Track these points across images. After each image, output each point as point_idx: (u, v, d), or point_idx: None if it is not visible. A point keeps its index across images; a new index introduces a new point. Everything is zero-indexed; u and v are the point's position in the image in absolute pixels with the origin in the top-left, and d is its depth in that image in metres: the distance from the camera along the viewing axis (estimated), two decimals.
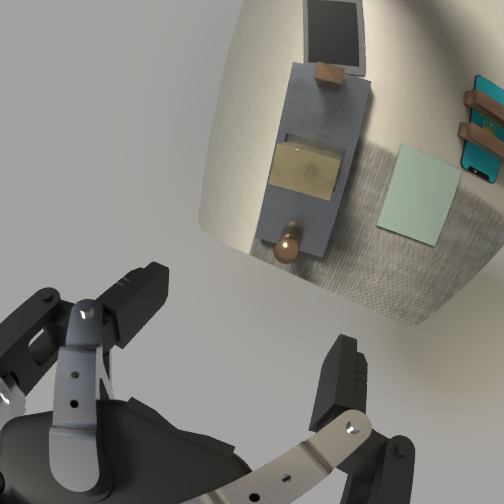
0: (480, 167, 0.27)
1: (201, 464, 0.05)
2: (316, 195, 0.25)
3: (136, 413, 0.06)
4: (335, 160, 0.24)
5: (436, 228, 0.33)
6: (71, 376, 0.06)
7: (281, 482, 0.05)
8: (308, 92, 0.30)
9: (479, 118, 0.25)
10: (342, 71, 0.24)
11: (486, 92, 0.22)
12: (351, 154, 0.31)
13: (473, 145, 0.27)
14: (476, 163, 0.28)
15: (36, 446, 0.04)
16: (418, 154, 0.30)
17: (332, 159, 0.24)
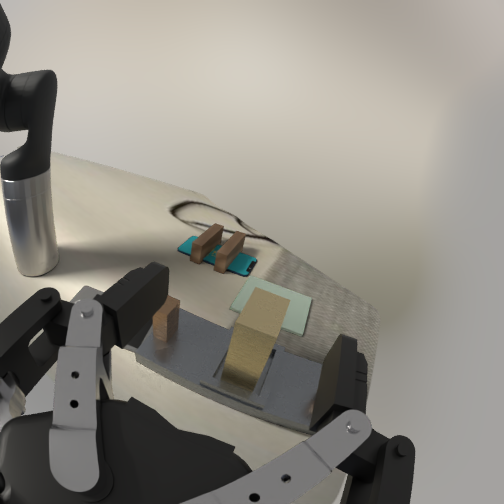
0: (246, 264, 0.55)
1: (201, 464, 0.05)
2: (286, 306, 0.28)
3: (136, 413, 0.06)
4: (255, 289, 0.29)
5: (297, 296, 0.49)
6: (71, 376, 0.06)
7: (280, 481, 0.05)
8: (172, 351, 0.31)
9: (210, 257, 0.54)
10: (168, 296, 0.32)
11: (190, 248, 0.55)
12: None
13: (230, 265, 0.53)
14: (244, 266, 0.54)
15: (36, 446, 0.04)
16: (239, 298, 0.45)
17: (254, 291, 0.29)
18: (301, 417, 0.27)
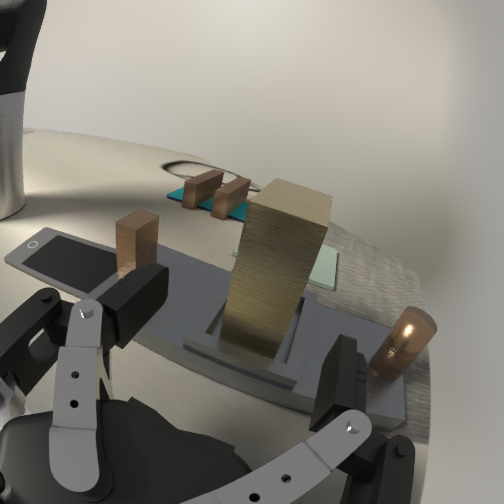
0: None
1: (201, 464, 0.05)
2: (329, 200, 0.17)
3: (136, 413, 0.06)
4: (276, 179, 0.18)
5: None
6: (71, 375, 0.06)
7: (280, 482, 0.05)
8: None
9: (207, 204, 0.43)
10: (142, 211, 0.21)
11: None
12: None
13: (232, 212, 0.42)
14: None
15: (36, 446, 0.04)
16: None
17: (275, 180, 0.18)
18: None
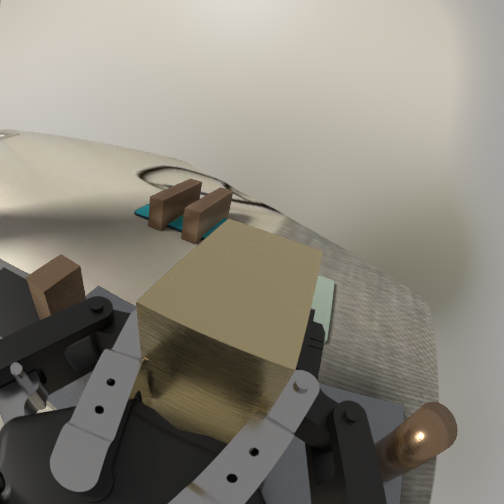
0: None
1: (201, 464, 0.05)
2: (315, 266, 0.10)
3: (136, 413, 0.06)
4: (226, 223, 0.11)
5: None
6: (107, 382, 0.06)
7: (250, 456, 0.05)
8: None
9: (179, 222, 0.35)
10: (63, 258, 0.14)
11: None
12: None
13: (207, 233, 0.34)
14: None
15: (36, 446, 0.04)
16: None
17: (223, 226, 0.11)
18: None
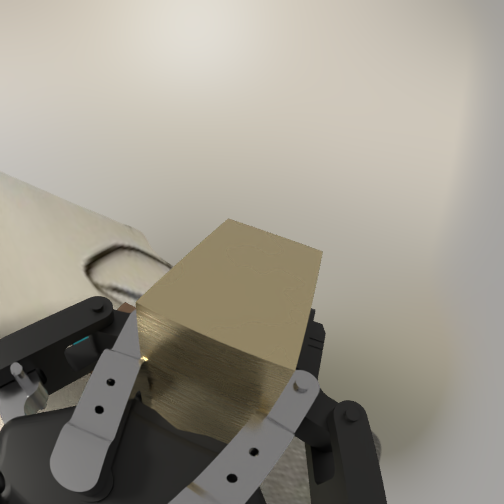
0: None
1: (201, 464, 0.05)
2: (315, 266, 0.10)
3: (136, 413, 0.06)
4: (226, 223, 0.11)
5: None
6: (107, 382, 0.06)
7: (250, 456, 0.05)
8: None
9: None
10: None
11: None
12: None
13: None
14: None
15: (36, 446, 0.04)
16: None
17: (223, 226, 0.11)
18: None
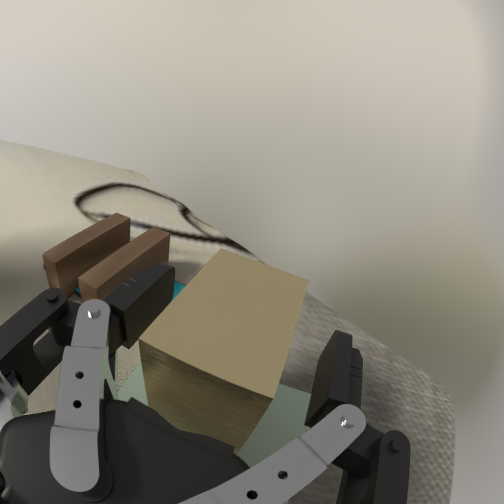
0: None
1: (201, 464, 0.05)
2: (300, 296, 0.10)
3: (136, 413, 0.06)
4: (219, 253, 0.12)
5: (279, 395, 0.17)
6: (75, 376, 0.06)
7: (278, 478, 0.05)
8: None
9: None
10: None
11: None
12: None
13: None
14: None
15: (36, 446, 0.04)
16: None
17: (216, 257, 0.12)
18: None
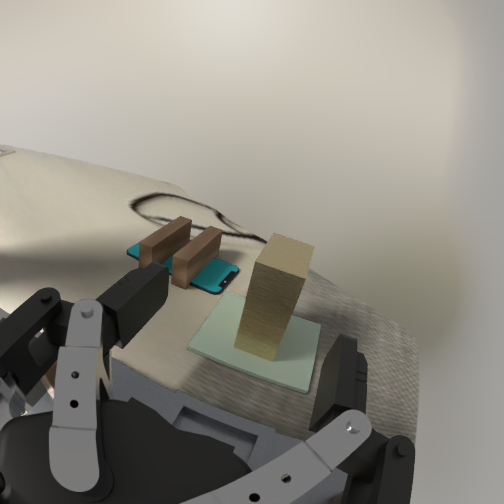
0: (221, 276, 0.36)
1: (201, 464, 0.05)
2: (311, 251, 0.24)
3: (136, 413, 0.06)
4: (273, 235, 0.26)
5: (299, 322, 0.31)
6: (71, 376, 0.06)
7: (280, 482, 0.05)
8: None
9: (168, 264, 0.36)
10: None
11: None
12: (193, 399, 0.18)
13: (196, 276, 0.35)
14: (216, 279, 0.35)
15: (36, 446, 0.04)
16: (204, 330, 0.27)
17: (273, 236, 0.26)
18: None
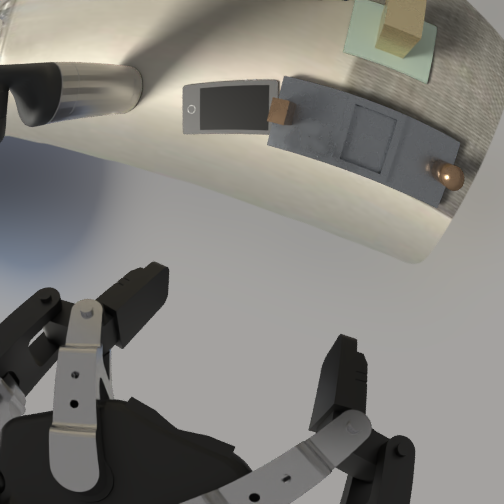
0: None
1: (201, 464, 0.05)
2: (424, 6, 0.15)
3: (136, 413, 0.06)
4: None
5: None
6: (71, 376, 0.06)
7: (280, 481, 0.05)
8: (299, 133, 0.34)
9: None
10: (276, 99, 0.28)
11: None
12: (360, 99, 0.28)
13: None
14: None
15: (36, 446, 0.04)
16: (351, 36, 0.26)
17: None
18: (414, 191, 0.32)
